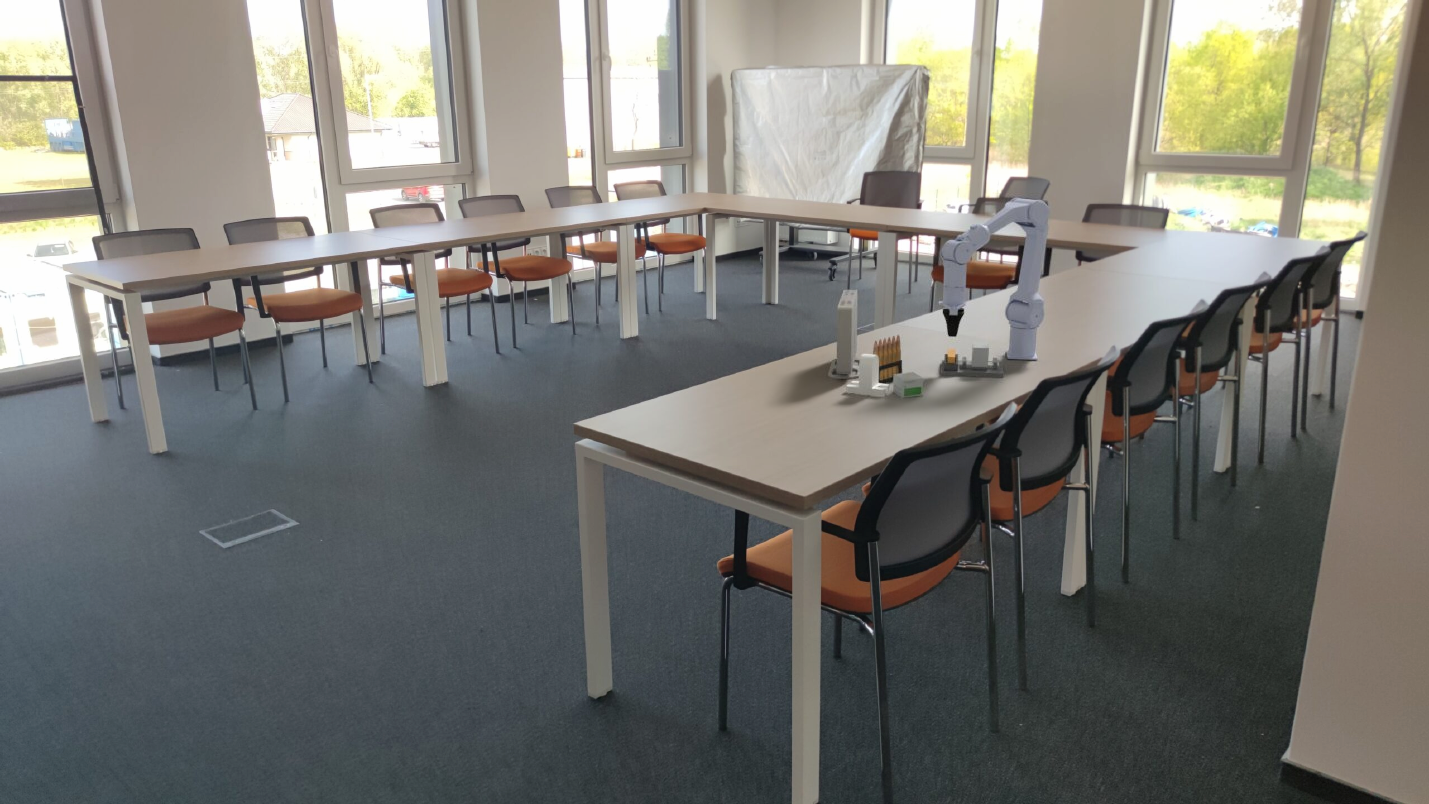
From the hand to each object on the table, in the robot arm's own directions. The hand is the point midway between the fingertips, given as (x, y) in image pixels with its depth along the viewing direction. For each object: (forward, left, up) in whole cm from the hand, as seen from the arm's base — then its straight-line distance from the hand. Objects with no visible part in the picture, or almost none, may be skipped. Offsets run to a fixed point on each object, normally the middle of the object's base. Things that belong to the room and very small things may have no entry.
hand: (952, 335), depth 259 cm
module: (0, +7, -8) cm, 11 cm away
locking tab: (0, 0, -7) cm, 7 cm away
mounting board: (0, +5, -9) cm, 11 cm away
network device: (+3, -28, -10) cm, 30 cm away
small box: (+24, -11, -10) cm, 28 cm away
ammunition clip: (+14, -17, -10) cm, 24 cm away
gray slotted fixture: (0, +5, -8) cm, 10 cm away
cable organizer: (+24, -21, -10) cm, 33 cm away
